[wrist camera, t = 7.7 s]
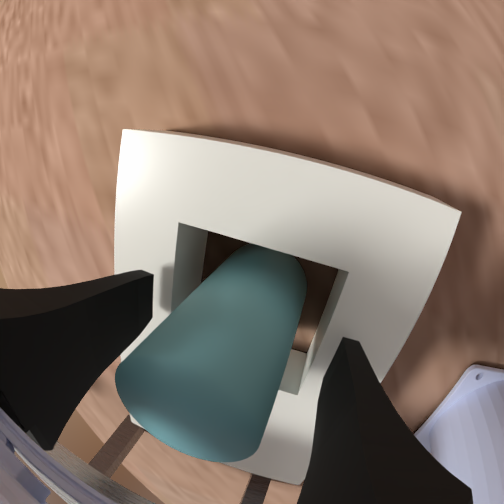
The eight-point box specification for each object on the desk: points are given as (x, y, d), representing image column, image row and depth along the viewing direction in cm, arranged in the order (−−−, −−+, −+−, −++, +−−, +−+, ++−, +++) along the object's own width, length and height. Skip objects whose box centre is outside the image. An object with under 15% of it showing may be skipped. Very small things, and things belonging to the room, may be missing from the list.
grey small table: (317, 409, 15) (273, 583, 5) (269, 481, 20) (231, 581, 10) (113, 331, 18) (1, 432, 8) (128, 423, 22) (66, 501, 12)
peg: (317, 257, 12) (280, 400, 5) (294, 331, 14) (244, 476, 7) (229, 232, 13) (106, 328, 6) (217, 307, 15) (124, 423, 7)
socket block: (434, 196, 10) (461, 212, 7) (306, 451, 17) (298, 485, 14) (164, 130, 12) (123, 129, 10) (151, 395, 19) (131, 421, 16)
